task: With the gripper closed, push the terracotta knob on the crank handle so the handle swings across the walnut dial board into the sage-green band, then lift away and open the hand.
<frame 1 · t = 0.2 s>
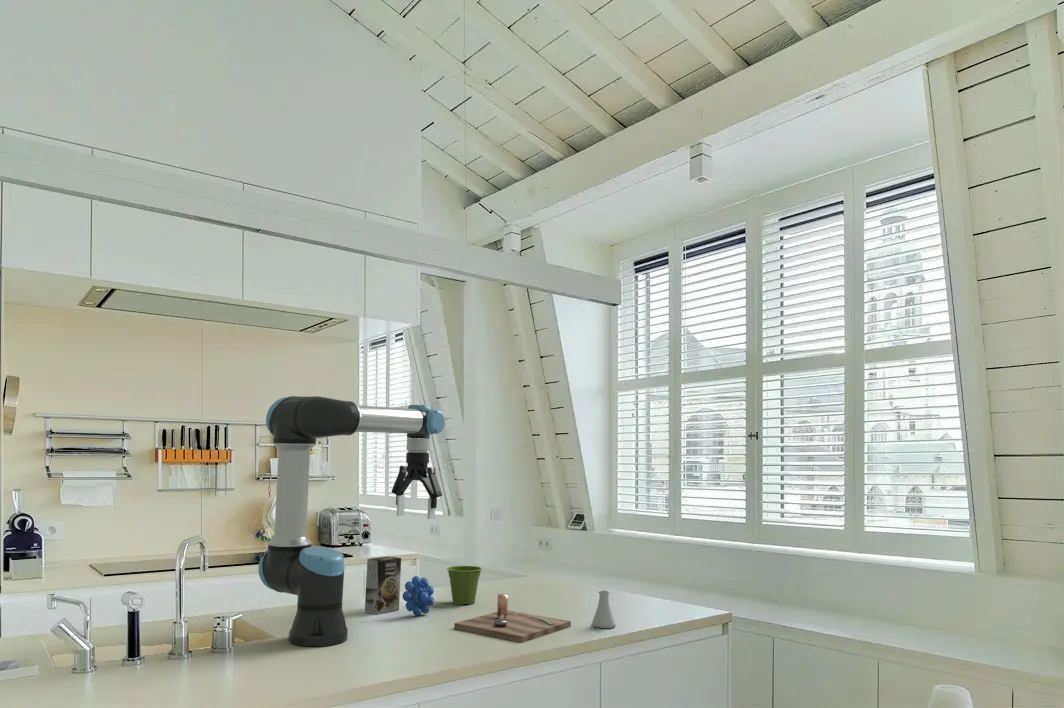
hand: (415, 517, 266), 28 cm above the worktop, fingers open, 13 cm apart
flask: (603, 626, 239), on the worktop
coffee box: (382, 611, 253), on the worktop
crank handle: (501, 609, 236), point 5 cm above the worktop, hinge at 35.0°
dial board: (513, 627, 235), on the worktop
plant pot: (463, 603, 268), on the worktop
grapes: (419, 617, 246), on the worktop
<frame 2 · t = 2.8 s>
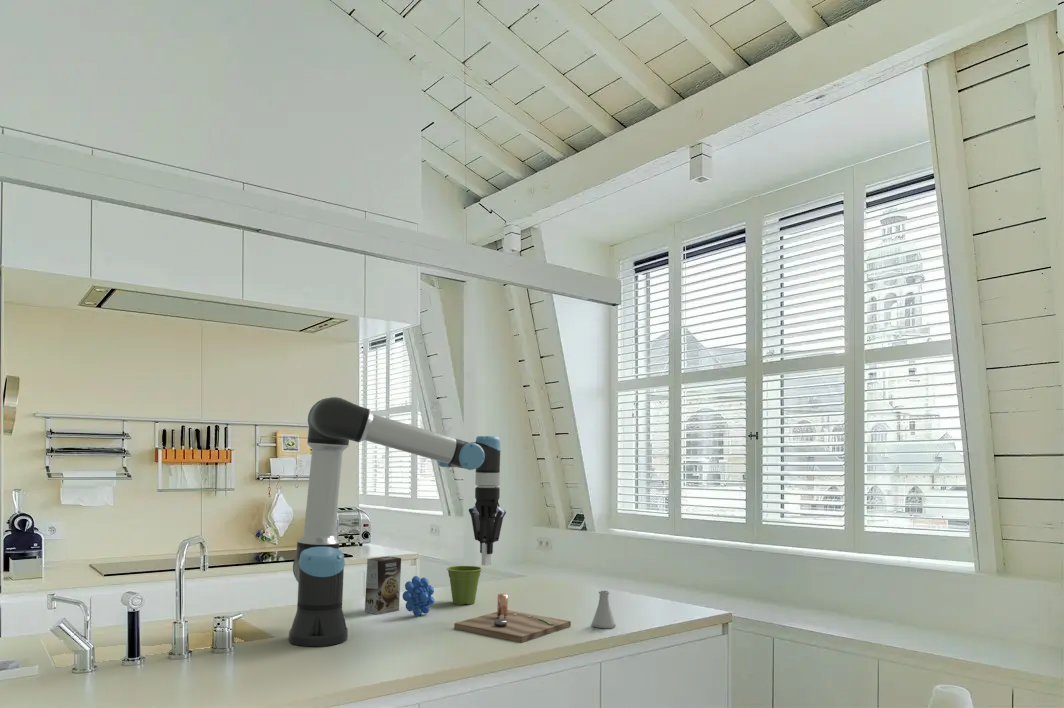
hand: (486, 564, 248), 16 cm above the worktop, fingers closed
nothing on the worktop moved.
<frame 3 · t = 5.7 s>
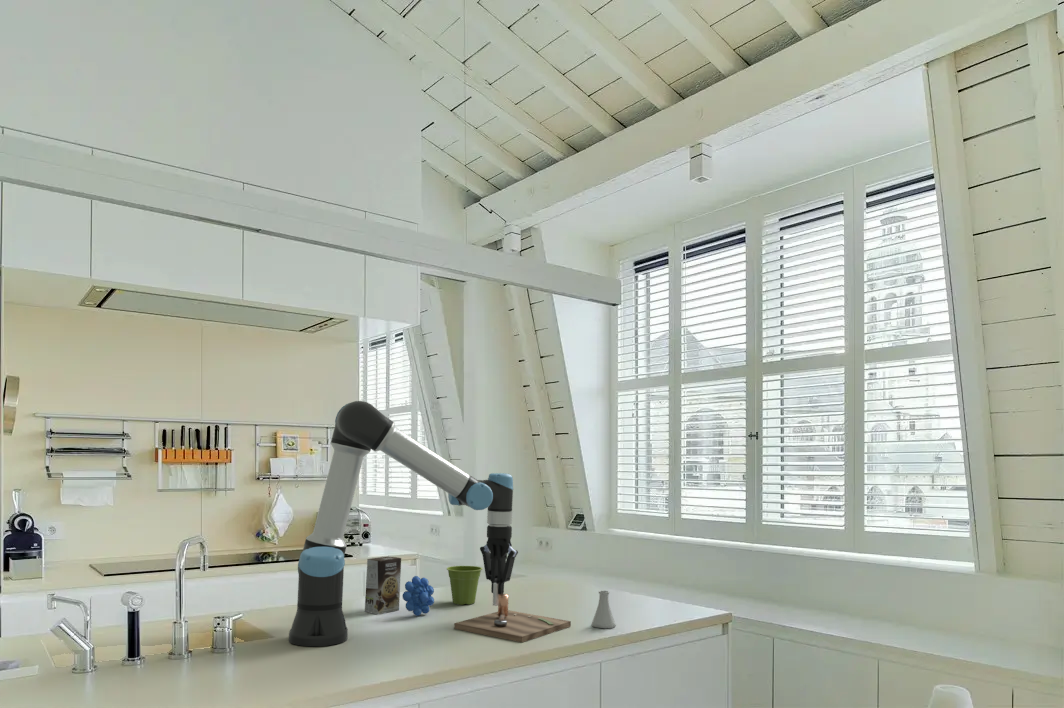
hand: (497, 604, 244), 5 cm above the worktop, fingers closed
crank handle: (502, 609, 236), point 5 cm above the worktop, hinge at 34.0°, touching gripper
everything else where it was.
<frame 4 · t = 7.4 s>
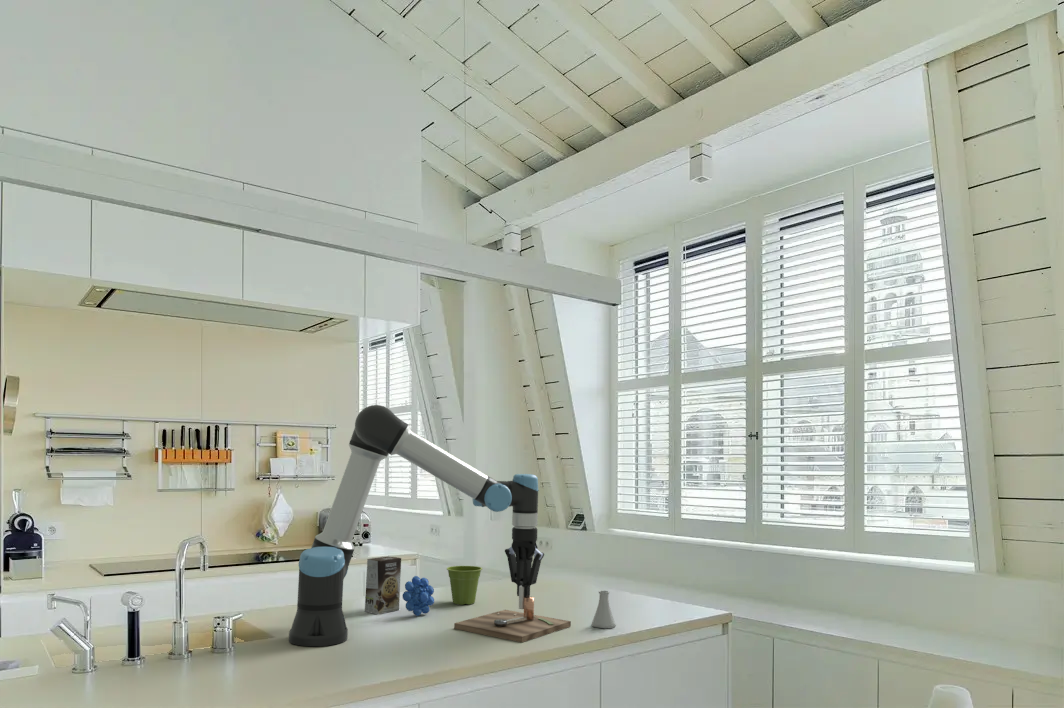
hand: (523, 608, 239), 5 cm above the worktop, fingers closed
crank handle: (515, 610, 234), point 5 cm above the worktop, hinge at -10.5°, touching gripper
everything else where it was.
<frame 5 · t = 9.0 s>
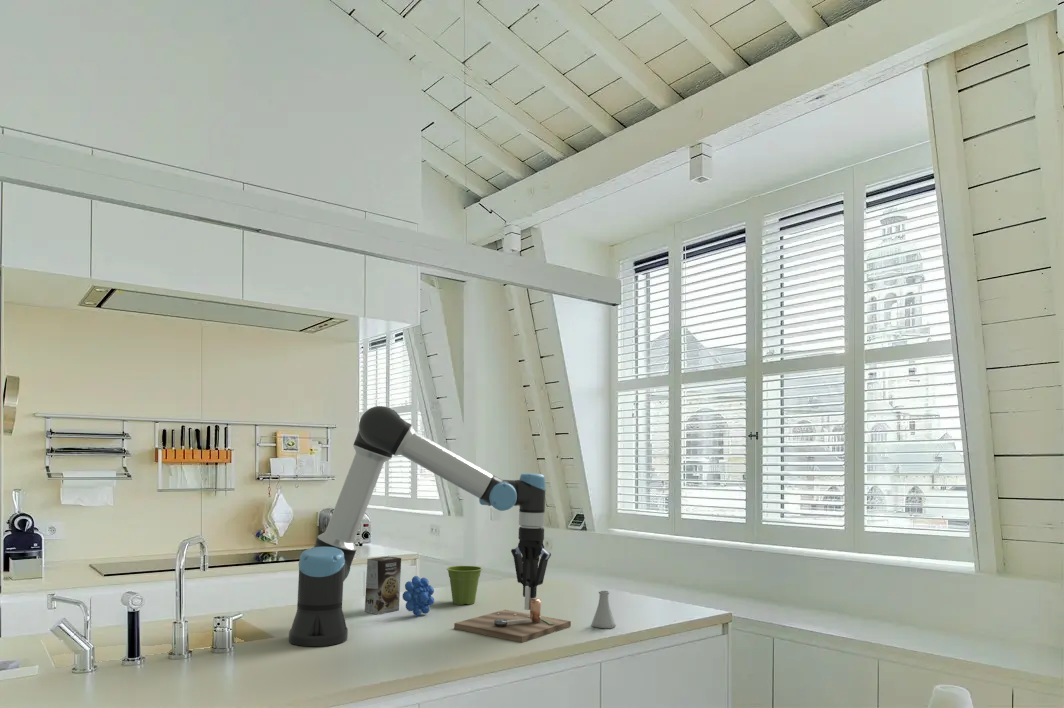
hand: (529, 608, 237), 5 cm above the worktop, fingers closed
crank handle: (518, 611, 233), point 5 cm above the worktop, hinge at -27.2°
everything else where it was.
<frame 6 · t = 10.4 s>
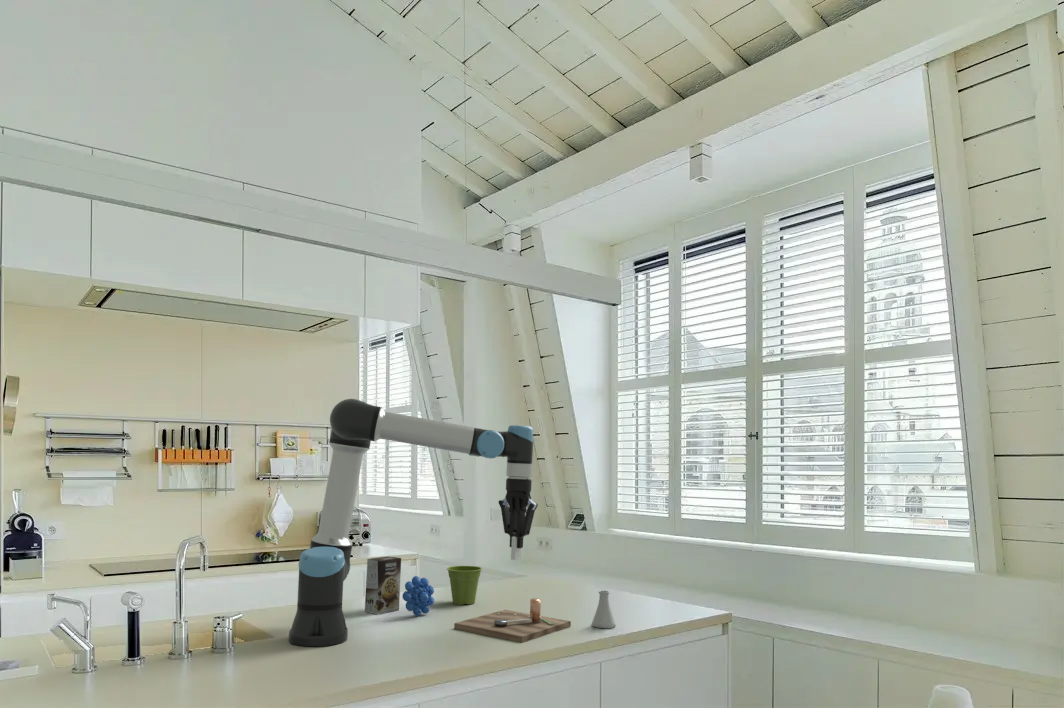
hand: (515, 559, 238), 19 cm above the worktop, fingers closed
nothing on the worktop moved.
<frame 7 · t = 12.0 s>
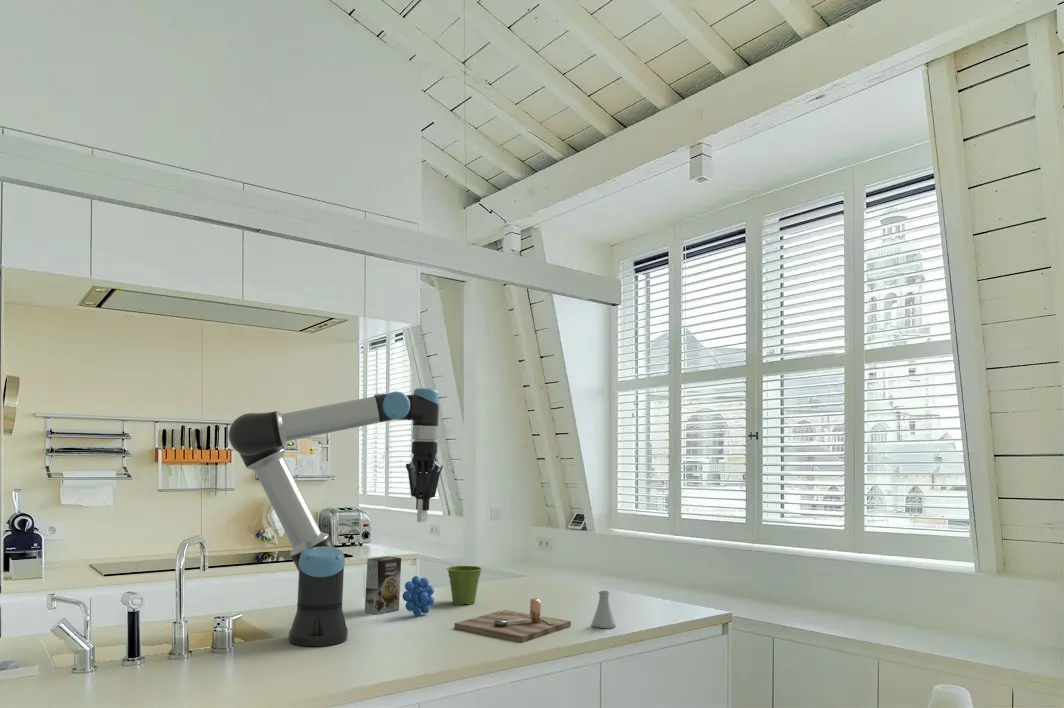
hand: (422, 521, 239), 29 cm above the worktop, fingers closed
nothing on the worktop moved.
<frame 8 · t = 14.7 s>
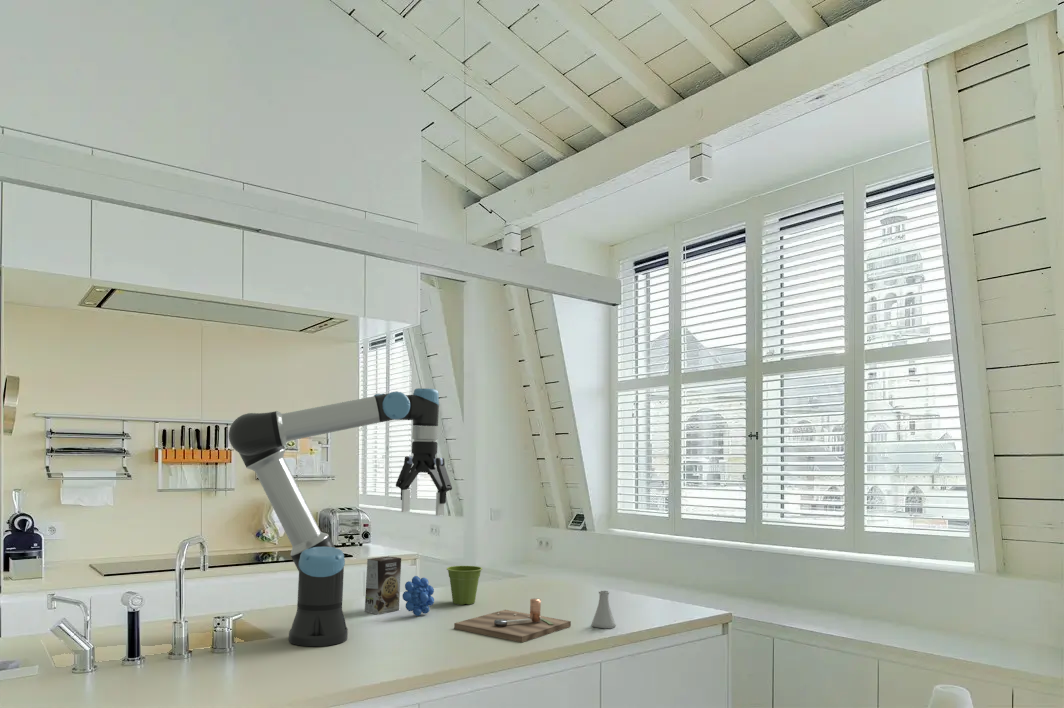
hand: (422, 513, 239), 32 cm above the worktop, fingers open, 13 cm apart
nothing on the worktop moved.
at the end: crank handle at -27° (first picture: +35°) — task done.
